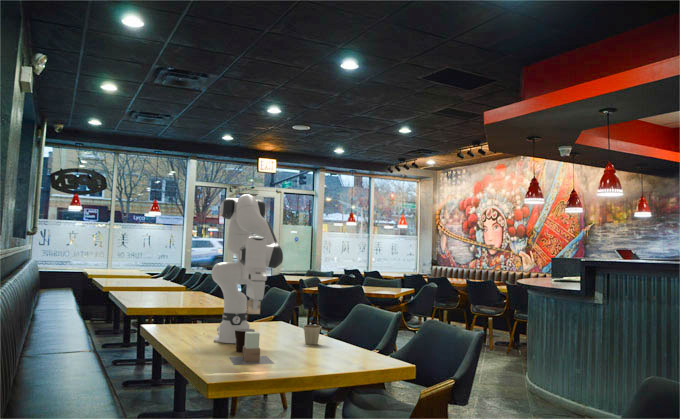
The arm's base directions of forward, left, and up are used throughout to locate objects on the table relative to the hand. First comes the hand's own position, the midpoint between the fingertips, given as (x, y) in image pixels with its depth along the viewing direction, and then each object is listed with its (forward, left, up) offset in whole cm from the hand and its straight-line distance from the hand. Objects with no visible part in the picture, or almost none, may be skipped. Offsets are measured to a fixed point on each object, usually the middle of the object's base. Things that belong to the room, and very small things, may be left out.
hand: (253, 309), depth 215 cm
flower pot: (-39, +37, -21) cm, 58 cm away
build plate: (0, 0, -21) cm, 21 cm away
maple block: (0, 0, -2) cm, 2 cm away
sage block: (0, 0, -15) cm, 15 cm away
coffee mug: (-21, +1, -21) cm, 30 cm away
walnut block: (0, 0, -20) cm, 20 cm away
